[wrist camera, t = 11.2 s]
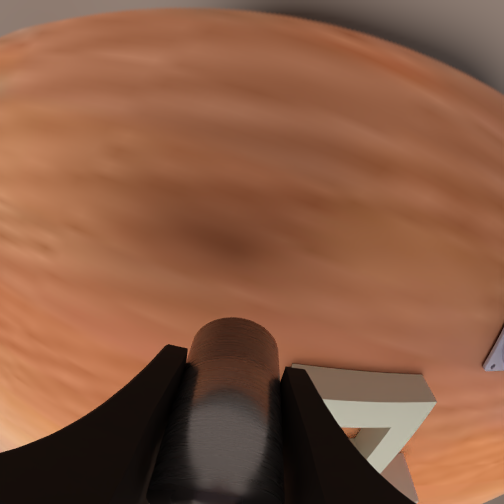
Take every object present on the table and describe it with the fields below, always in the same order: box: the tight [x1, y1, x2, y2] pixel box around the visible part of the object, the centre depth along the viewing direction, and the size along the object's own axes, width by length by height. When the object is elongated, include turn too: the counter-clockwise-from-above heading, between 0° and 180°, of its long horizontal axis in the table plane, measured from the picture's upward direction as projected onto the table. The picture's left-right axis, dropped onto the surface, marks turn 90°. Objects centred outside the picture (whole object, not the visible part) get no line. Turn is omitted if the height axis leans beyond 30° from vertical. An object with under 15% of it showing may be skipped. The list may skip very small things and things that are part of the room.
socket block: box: [291, 363, 437, 473], centre depth 20 cm, size 10×10×3 cm
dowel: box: [146, 317, 285, 504], centre depth 8 cm, size 3×3×6 cm
